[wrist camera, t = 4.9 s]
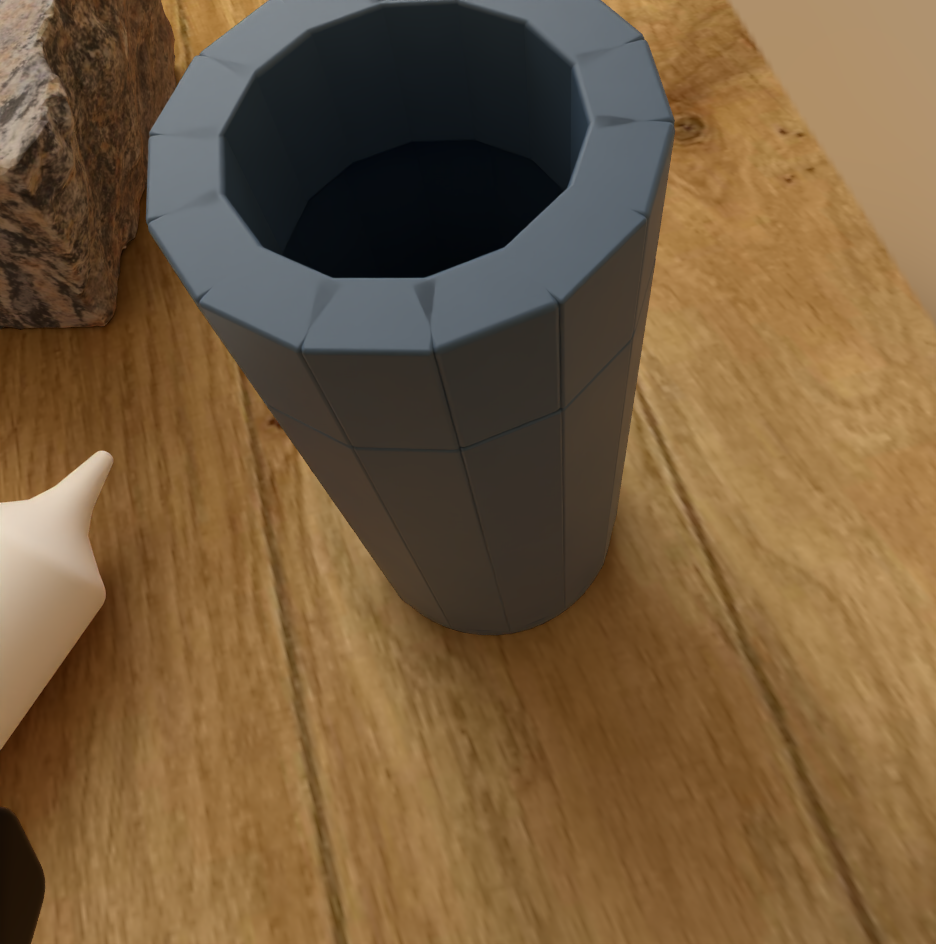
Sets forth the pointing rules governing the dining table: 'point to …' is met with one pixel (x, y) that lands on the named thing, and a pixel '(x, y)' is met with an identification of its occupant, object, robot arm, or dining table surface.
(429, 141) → the jar
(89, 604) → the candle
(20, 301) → the stone block
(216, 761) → the dining table surface
